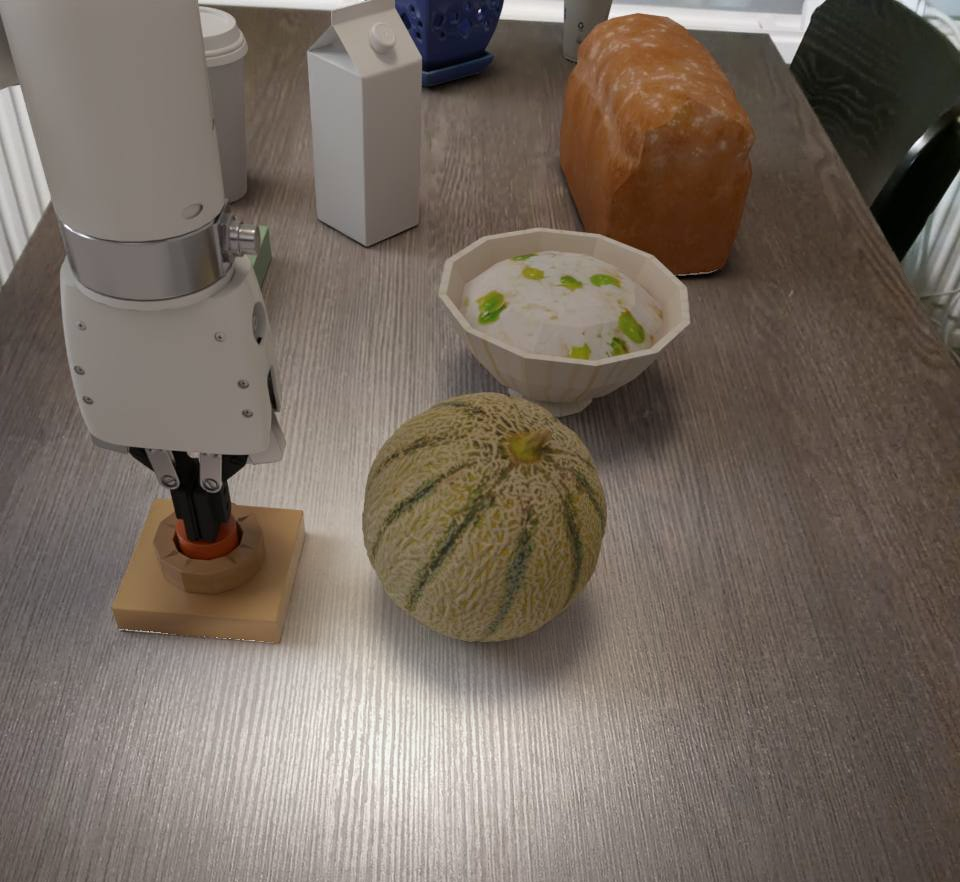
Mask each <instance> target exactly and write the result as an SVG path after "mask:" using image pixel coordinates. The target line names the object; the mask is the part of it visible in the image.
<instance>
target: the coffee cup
mask: <svg viewBox="0 0 960 882" xmlns="http://www.w3.org/2000/svg"><path fill="white" fill-rule="evenodd" d="M199 11H200V19H201V26H202V33H203V41H204V48H205V55H206V63H207V70H208V78H209V85H210V92H211V100H212V107H213V114H214V121H215V129H216V136H217V143H218V151H219V158H220V166H221V173H222V180H223V188H224V197H225V198H227V199H229V200H230V204H231V203H235V202H236V201H239V200H240V199H242V198H243V197H245V196H246V194H247V193H248V175H247V174H248V173H247V172H248V171H247V170H248V169H247V142H246V137H247V136H246V109H245V107H246V105H245V104H246V103H245V71H244V69H245V66H244V62H245V61H244V57H245V56H246V54H247V53H248V51H249V45H248V42H247V39H246V37H245V36H244V33H243V31H242V30H241V29H240V28H239V27H238V26H239V25H238V23H237V21H236V18H235V17H234V16H233V15H231V14H230V13H228V12H227V11H224V10H223V9H222V10H221V9H218V8H214V7H211V6H210V7H209V6H203V5H202V6H201V5H199Z"/></svg>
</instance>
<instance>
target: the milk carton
mask: <svg viewBox="0 0 960 882" xmlns="http://www.w3.org/2000/svg"><path fill="white" fill-rule="evenodd" d="M330 24H331V25H329V27H327V29H326V30H325V31H324V32H323V33H322V34H321V35H320V37H318V39H316V41H315V42H314V43H313V44H312V45H311V46H310V47H309V48H308V50H307V51H306V56H307V58H306V59H307V74H308V90H309V103H310V104H309V105H310V106H309V107H310V120H311V121H310V123H311V138H312V156H313V170H314V171H313V172H314V187H315V202H316V203H315V204H316V218H317V220H319V221H321V222H322V223H324V224H326V225H327V226H329V227H332V228H333V229H335V230H336V231H338V232H340V233H341V234H343V235H345V236H347V237H349V238H351V239H352V240H354V241H355V242H358V243H359V244H361V245H362V246H364V247H370V246H372V245H375V244H377V243H379V242H381V241H383V240H386V239H389V238H390V237H393V236H396V235H397V234H400V233H402V232H404V231H407V230H408V229H411V228H413V227H415V226H418V225H419V222H420V189H421V187H420V185H421V184H420V181H421V180H420V179H421V139H422V137H421V133H422V91H423V90H422V88H423V85H422V57H421V55H420V53H419V51H418V49H417V47H416V45H415V43H414V42H413V40H412V38H411V36H410V34H409V32H408V31H407V29H406V27H405V25H404V23H403V21H402V20H401V18H400V16H399V14H398V12H397V10H396V9H395V0H366V1H365V0H362V1H359V2H356V3H352V4H347V5H344V6H341V7H336V8H332V9H330Z"/></svg>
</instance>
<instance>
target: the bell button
mask: <svg viewBox="0 0 960 882" xmlns="http://www.w3.org/2000/svg"><path fill="white" fill-rule="evenodd" d="M176 532H177V536H178V541H179V545H180V549H181V552H182V554H183V555H185V556H187V557H188V558H190V559H197V560H212V559H216V558H219V557H223V556H226V555H228V554H229V553H231V552H232V551H233V550H234V549H235V548H237V547H238V546H239V538H238V532H237V527H236V521H235V518H234V516H233V515H232V514H231V515H230V519H229V521H228V523H221V525H220V528H219V531H218V534H217V537H216V540H215V542H206V541H205V539H202V537H201V539H198V540H197V541H192V540H188V539H187V535H186V531H185V527H184V522H183V520H182V519H179V520H178V521H177V524H176Z"/></svg>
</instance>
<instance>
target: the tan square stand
mask: <svg viewBox="0 0 960 882" xmlns="http://www.w3.org/2000/svg"><path fill="white" fill-rule="evenodd" d="M231 514H232V515H233V516H234V518H235V521H236V527H237V532H238V538H239V546H238V547H237V548H235V549H234V550H233V551H232V552H231V553H229V554H228V555H226V556H223V557H219V558H216V559H212V560H197V559H190V558H188V557H187V556H185V555H183V554H182V552H181V549H180V545H179V541H178V536H177V532H176V524H177V521H178V520H179V519H177V518H176V514H175V510H174V506H173V502H172V499H170V498H169V499H168V498H158V497H156V498H154V499H153V501H152V504H151V506H150V509H149V512H148V514H147V517H146V518H145V519H146V520H145V522H144V524H143V527H142V529H141V532H140V534H139V537H138V539H137V542H136V545H135V547H134V551H133V552H132V554H131V557H130V560H129V563H128V565H127V566H126V570H125V573H124V575H123V578H122V580H121V583H120V585H119V587H118V590H117V594H116V596H115V598H114V600H113V603H112V605H111V611H112V615H113V617H114V620H115V623H116V626H117V628H118V630H119V629H124V630H125V629H128V630H134V631H135V630H138V631H140V630H142V631H149V632H150V631H153V632H161V633H168V634H176V635H183V636H182V637H188V636H192V637H191V638H194V637H193V636H196V637H195V638H201V637H204V636H205V637H208V638H207V639H211V638H210V637H213V638H212V639H214V638H216V637H218V638H221V639H220V640H224V639H223V638H226V639H225V640H227V639H229V638H231V639H240V640H242V639H244V640H255V641H264V642H263V643H265V642H274V643H273V644H277V643H279V642H280V643H281V640H282V636H283V631H284V626H285V623H286V618H287V613H288V609H289V606H290V601H291V597H292V593H293V588H294V584H295V580H296V575H297V571H298V566H299V562H300V558H301V555H302V551H303V546H304V541H305V537H306V526H305V525H306V524H305V513H304V510H302V509H291V508H279V507H268V506H267V507H266V506H257V505H256V506H254V505H245V504H244V505H243V504H237V503H235V502H231ZM176 635H175V636H176ZM187 635H188V636H187ZM198 636H200V637H198ZM280 639H281V640H280ZM280 643H279V644H280Z"/></svg>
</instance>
